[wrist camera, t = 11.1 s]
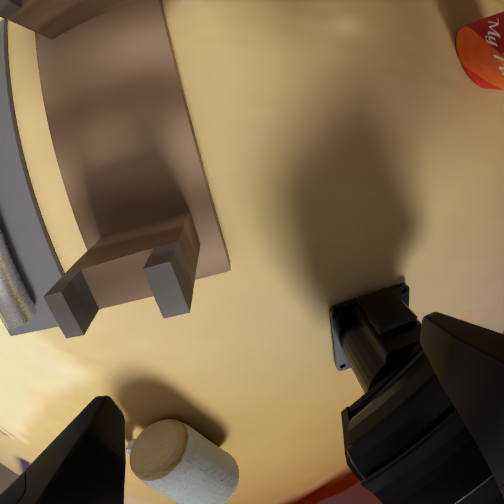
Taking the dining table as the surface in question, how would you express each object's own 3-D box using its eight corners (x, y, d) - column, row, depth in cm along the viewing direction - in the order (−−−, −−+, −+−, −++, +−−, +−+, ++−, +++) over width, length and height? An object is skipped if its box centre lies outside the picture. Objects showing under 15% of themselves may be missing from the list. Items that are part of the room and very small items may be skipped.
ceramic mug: (186, 403, 23) (180, 478, 16) (238, 442, 26) (243, 506, 19) (110, 430, 25) (96, 489, 18) (163, 464, 28) (158, 518, 21)
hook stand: (229, 260, 19) (237, 347, 11) (116, 289, 19) (69, 375, 11) (152, -39, 11) (121, -115, 3) (44, 10, 11) (-27, -29, 3)
